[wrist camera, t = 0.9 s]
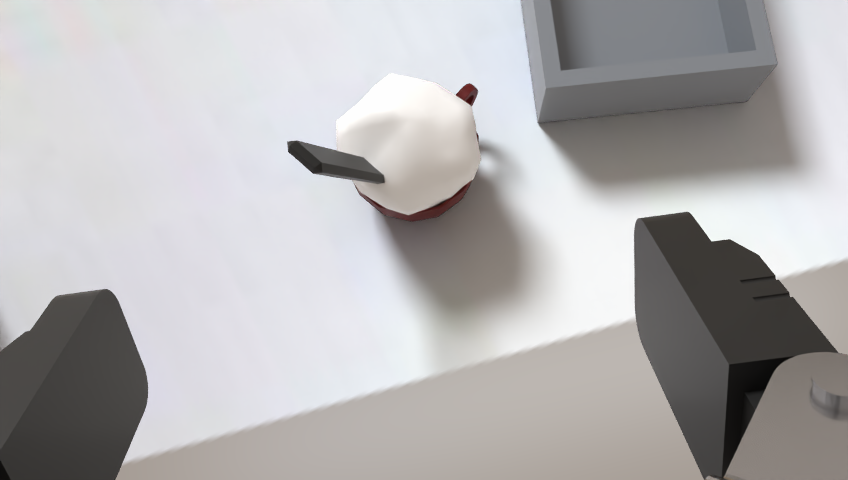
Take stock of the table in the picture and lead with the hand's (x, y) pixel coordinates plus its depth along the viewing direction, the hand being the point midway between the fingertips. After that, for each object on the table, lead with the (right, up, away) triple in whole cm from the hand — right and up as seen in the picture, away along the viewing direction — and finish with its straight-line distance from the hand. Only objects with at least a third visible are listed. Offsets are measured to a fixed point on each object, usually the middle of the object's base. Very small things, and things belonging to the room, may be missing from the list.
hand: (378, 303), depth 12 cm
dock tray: (+11, +14, +29) cm, 34 cm away
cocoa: (0, +4, +28) cm, 28 cm away
